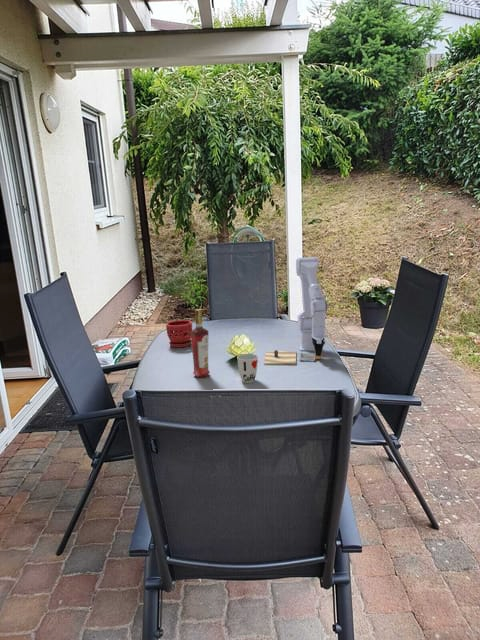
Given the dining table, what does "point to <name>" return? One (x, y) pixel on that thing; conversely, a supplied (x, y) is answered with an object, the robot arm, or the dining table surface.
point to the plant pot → (179, 333)
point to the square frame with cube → (309, 357)
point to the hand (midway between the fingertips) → (318, 354)
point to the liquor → (200, 347)
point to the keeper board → (280, 358)
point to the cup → (247, 367)
